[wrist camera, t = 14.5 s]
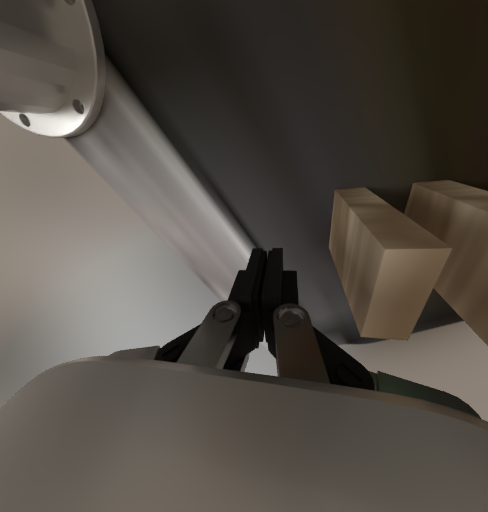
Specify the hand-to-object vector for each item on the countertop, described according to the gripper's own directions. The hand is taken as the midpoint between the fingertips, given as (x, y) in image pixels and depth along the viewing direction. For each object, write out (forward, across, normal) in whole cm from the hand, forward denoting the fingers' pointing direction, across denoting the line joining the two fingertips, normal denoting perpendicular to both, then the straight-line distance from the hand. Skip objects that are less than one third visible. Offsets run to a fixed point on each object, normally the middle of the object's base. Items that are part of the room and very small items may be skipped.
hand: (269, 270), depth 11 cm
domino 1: (+7, -6, 0) cm, 9 cm away
